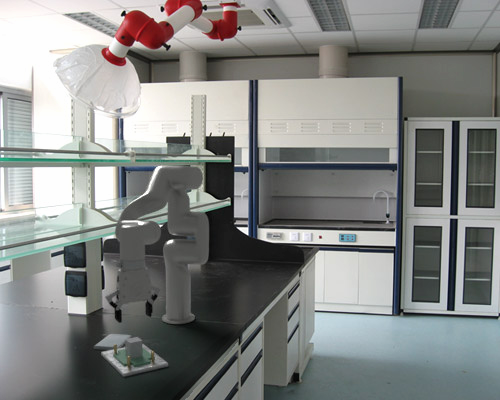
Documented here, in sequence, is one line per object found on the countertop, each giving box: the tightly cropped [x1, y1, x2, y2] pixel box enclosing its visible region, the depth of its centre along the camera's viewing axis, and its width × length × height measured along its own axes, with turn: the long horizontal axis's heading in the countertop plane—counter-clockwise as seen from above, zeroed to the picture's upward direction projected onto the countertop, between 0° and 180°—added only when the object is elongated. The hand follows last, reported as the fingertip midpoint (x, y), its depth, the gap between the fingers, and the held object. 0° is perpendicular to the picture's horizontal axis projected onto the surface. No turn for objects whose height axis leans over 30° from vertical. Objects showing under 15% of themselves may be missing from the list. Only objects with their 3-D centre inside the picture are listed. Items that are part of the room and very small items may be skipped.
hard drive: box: [93, 333, 132, 351], centre depth 178 cm, size 2×8×12 cm
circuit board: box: [113, 336, 155, 367], centre depth 162 cm, size 14×10×6 cm
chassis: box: [100, 343, 169, 378], centre depth 162 cm, size 20×14×4 cm
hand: (134, 318), depth 162 cm, fingers open, 9 cm apart
